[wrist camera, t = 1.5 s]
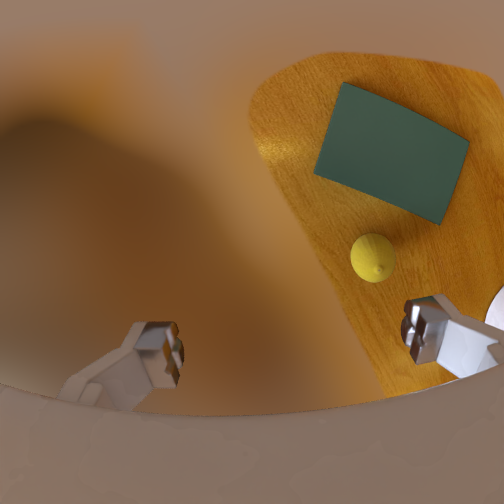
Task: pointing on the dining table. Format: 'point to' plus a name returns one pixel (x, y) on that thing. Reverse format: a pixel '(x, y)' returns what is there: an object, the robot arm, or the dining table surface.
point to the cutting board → (391, 153)
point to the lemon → (373, 257)
